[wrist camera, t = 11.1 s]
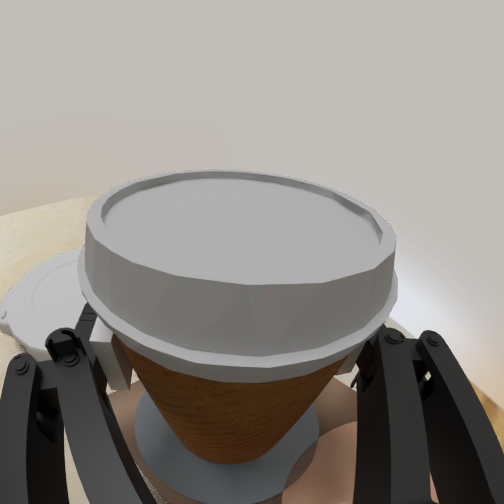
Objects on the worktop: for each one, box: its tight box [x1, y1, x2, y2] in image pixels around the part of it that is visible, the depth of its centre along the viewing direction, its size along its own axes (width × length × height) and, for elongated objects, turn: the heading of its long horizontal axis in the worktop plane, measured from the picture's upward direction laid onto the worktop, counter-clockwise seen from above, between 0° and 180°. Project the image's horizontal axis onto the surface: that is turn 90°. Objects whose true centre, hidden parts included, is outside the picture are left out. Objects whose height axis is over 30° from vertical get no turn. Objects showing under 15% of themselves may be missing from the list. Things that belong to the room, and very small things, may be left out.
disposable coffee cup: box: [77, 169, 398, 464], centre depth 10 cm, size 10×10×12 cm
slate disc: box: [134, 390, 319, 504], centre depth 14 cm, size 11×11×1 cm
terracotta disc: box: [281, 421, 439, 504], centre depth 9 cm, size 11×11×1 cm
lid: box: [0, 247, 87, 362], centre depth 22 cm, size 17×20×3 cm
